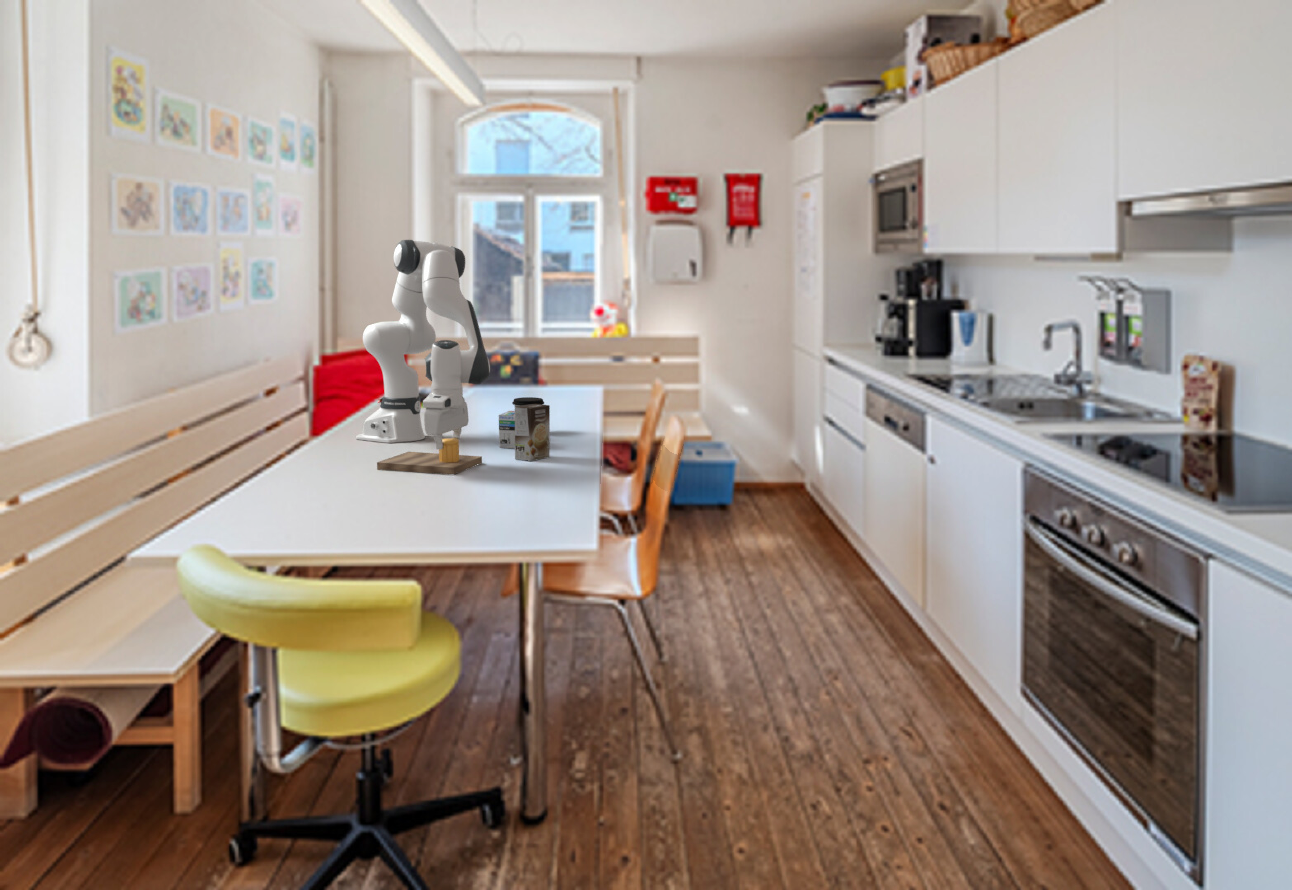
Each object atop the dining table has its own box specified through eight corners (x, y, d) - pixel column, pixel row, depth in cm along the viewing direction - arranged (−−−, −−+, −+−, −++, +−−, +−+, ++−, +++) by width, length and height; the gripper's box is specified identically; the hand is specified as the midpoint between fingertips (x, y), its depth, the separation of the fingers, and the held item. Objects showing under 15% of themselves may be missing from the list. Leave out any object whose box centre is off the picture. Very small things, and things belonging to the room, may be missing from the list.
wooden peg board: (377, 469, 291) (376, 448, 290) (409, 458, 308) (408, 438, 307) (453, 474, 284) (453, 453, 283) (482, 463, 301) (481, 443, 300)
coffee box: (530, 461, 304) (530, 408, 301) (514, 459, 308) (513, 406, 305) (550, 457, 311) (550, 404, 309) (534, 454, 315) (533, 403, 312)
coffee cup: (507, 435, 351) (507, 400, 349) (520, 430, 361) (520, 396, 359) (537, 436, 348) (536, 401, 346) (549, 432, 358) (549, 397, 356)
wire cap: (435, 461, 292) (435, 441, 291) (445, 458, 297) (444, 437, 296) (453, 463, 291) (453, 442, 290) (462, 459, 296) (462, 439, 295)
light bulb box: (518, 449, 325) (518, 415, 323) (498, 448, 326) (497, 414, 324) (529, 443, 335) (528, 410, 333) (509, 442, 336) (508, 410, 334)
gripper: (453, 393, 302) (454, 439, 304) (419, 402, 282) (420, 451, 285) (473, 394, 300) (474, 440, 302) (440, 403, 280) (441, 453, 283)
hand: (448, 446), depth 293 cm, fingers open, 8 cm apart
